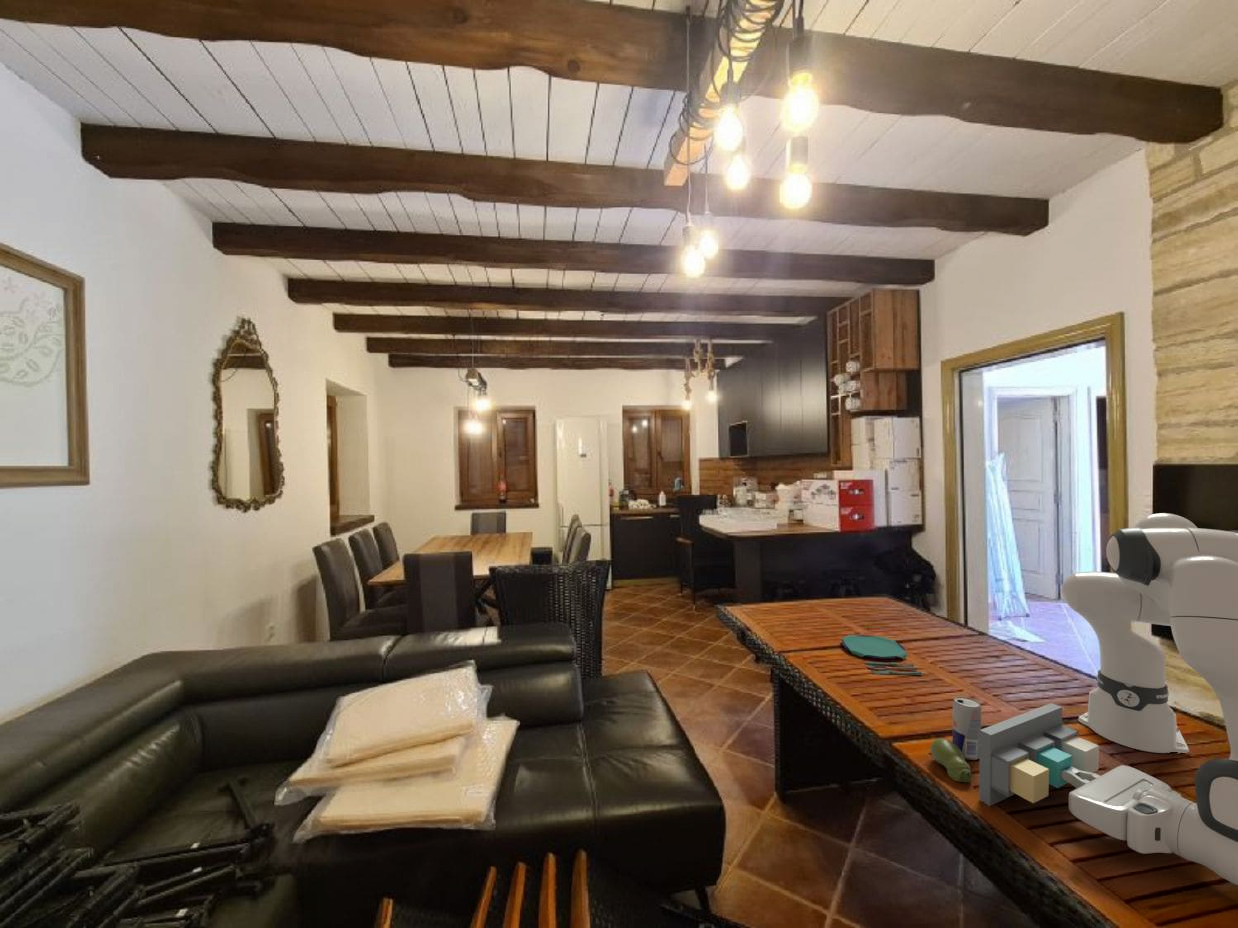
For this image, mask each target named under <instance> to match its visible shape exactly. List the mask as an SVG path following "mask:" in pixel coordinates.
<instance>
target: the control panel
mask: <svg viewBox="0 0 1238 928" xmlns="http://www.w3.org/2000/svg"><path fill="white" fill-rule="evenodd" d="M1062 723H1063V706H1060V705H1057V704H1055V703H1052V702H1050V703H1048V704H1045V705H1042V706H1040V707H1037V708H1035V709H1034V708H1033V709H1031V710H1029V711H1026V712H1024V713H1021V714H1018V715H1015V716H1013V717H1011V718H1007V719H1005V720H1003V721H1000V722H997V723H995V724H992V725H990V726H989V725H988V726H987V727H983V728H981V730H980V758H979V765H978V767H979V768H978V770H979V773H978V774H979V775H978V777H979V778H978V779H979V781H978V800H979V799H980V800H981V801H980V800H979V801H980V802H982V801H983V802H984V804H985V805H987V804H988V805H987V806H988V807H991V805H992V806H993V805H996V804H997V803H999V802H1002V801H1003V800H1006V799H1008V798H1010V797H1012V796H1015V795H1016V794H1015V793H1013V792H1011V791H1010V764H1011V763H1014V762H1016V761H1018V760H1020V759H1023V758H1027V759H1029V760H1031V761H1033V762H1035V763H1037V752H1039V751H1041V750H1043V749H1045V748H1048V747H1050V746H1051V747H1054V748H1056V749H1058V750H1060V751H1062V741H1063V740H1066V739H1068V738H1070V737H1072V736H1077V737H1079V738H1080V736H1079V733H1080V732H1079V730H1078V729H1075V728H1072V727H1070V726H1068V725H1065V724H1062ZM983 802H982V803H983Z"/></svg>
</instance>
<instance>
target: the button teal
mask: <svg viewBox="0 0 1238 928" xmlns="http://www.w3.org/2000/svg"><path fill="white" fill-rule="evenodd" d="M1037 764H1039V765H1041V766H1043V767H1046V768H1048V769H1049V786H1050V785H1051V786H1053V787H1055V788H1057V789H1059V788H1061V787H1063V786H1064V785H1066V784H1069V782H1067V781H1065V780H1063V779H1062V777H1061V771H1063V770H1065V769H1067V768H1069V767H1072V755H1069V754H1067V753H1065V752H1063V751H1060V750H1058V749H1056V748H1054V747H1051V746H1050V747H1048V748H1045V749H1043V750H1041V751H1039V752H1037Z"/></svg>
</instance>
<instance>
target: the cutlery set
mask: <svg viewBox="0 0 1238 928" xmlns="http://www.w3.org/2000/svg"><path fill="white" fill-rule="evenodd" d="M841 640H842V641H841V644H842V646H843V647H844V648H845V649H846V650H847V651H850V652H851V653H852V654H853V655H854V656H858V657H860V658H863V657H866V658H867V657H868V658H870V659H871V658H872V659H881V660H887V659H888V660H890V659H891V660H893V659H898V658H902V660H905V659H906V658H907V656H908V653H907V650H906V648H905V646H903V645H902V644H900V642H896V640H894V639H890V638H887V637H884V636H881V635H880V636H879V635H877V636H876V635H869V634H868V635H867V634H858V635H857V634H849V635H846V636H844V637H842V638H841ZM864 664H865V665H867V668H869V669H872V670H871V671H870V672H871V673H872V674H873V675H885V676H886V675H887V676H890V675H893V674H895V675H900V676H901V675H902V676H920V677H922V675H923V672H922V671H918V667H917V666H914V664H913V663H911V664H910V663H906V664H905V663H897V662H890V661H889V662H878V661H865V662H864ZM898 665H899V666H898ZM887 666H889V667H887ZM891 666H893V667H891ZM894 670H895V671H894ZM896 670H913V671H905V672H904V671H896Z"/></svg>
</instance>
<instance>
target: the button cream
mask: <svg viewBox="0 0 1238 928" xmlns="http://www.w3.org/2000/svg"><path fill="white" fill-rule="evenodd" d="M1062 751H1063V752H1065V753H1067V754H1069V755H1072V767H1074V768H1076V769H1078V770H1080V771H1085V772H1090V773H1095V772H1097V771H1099V762H1100V761H1099V759H1100V758H1099V756H1100V755H1099V754H1100V746H1099V744H1096V743H1094V742H1091V741H1090V740H1087V739H1084V738H1081V737H1080V736H1079V737H1077V736H1072V737H1070V738H1068V739H1066V740H1063V741H1062Z"/></svg>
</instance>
